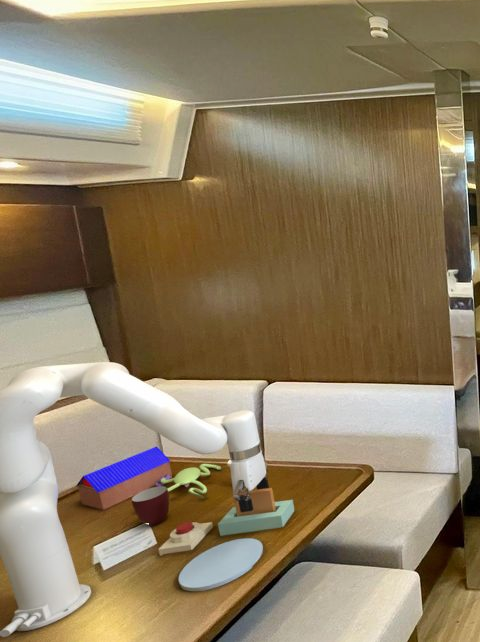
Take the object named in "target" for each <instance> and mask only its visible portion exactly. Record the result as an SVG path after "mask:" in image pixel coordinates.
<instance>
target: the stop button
mask: <svg viewBox="0 0 480 642" xmlns="http://www.w3.org/2000/svg"><path fill="white" fill-rule="evenodd" d="M192 523H193V522H192V521H186V522H183V523H180V524H179V525H177V526H176V527H175V529H176V532H177V535H181V534H185V533H188V532H189V531H191V530H192V529H193V524H192Z"/></svg>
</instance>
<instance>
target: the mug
mask: <svg viewBox="0 0 480 642" xmlns="http://www.w3.org/2000/svg"><path fill="white" fill-rule="evenodd" d="M167 488H168V487H167V486H165V485H164V486H159V487H158V486H153V487H151V488H149V489H147V490H144V491H142V492H140V493H138V494H136V495H134V496H132V497H131V504H132V508H133V510H134V512H135V513H136V515H137V517H138V519H139V520H140V521H141V522H142V523H143V524H145V523H149V527H153V526H156V525H159V524H162V523H163V522H164V521H165V520H166V518H167V516H168V513H169V510H170V493H169V492H168V489H167Z"/></svg>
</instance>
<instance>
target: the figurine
mask: <svg viewBox="0 0 480 642" xmlns="http://www.w3.org/2000/svg"><path fill="white" fill-rule="evenodd" d="M209 468H210V469H213V470H218V471H219V470H221V469H222V466H220V465H216V464H210V463H201V464H200V465H199V467H187V468H184V469H182V470H180V471H179V472H178V473H176V475H175V476H174V477H173V476H172V477H170V476H169V475H168V474H166V475H164V476H163V477H162V478H161V479H159V480H158V481H157V482H156V483H155V486H156V487H159V486H164V487H165V486H166V484H170V483H173V482H174V483H175V484H174V485H171V486H170V487H167V489H168V493H169V492H171V491H173V490H175V489H177V488H178V487H180V486H184V487H185V488H188V487H189V486H190V484H193V485H196V486H198V487H199V488H200V489H199V488H197V487H190V488H189V489H188V491H187V493H189V494H190V495H193V496H196V497H199V498H200V499H205V496H203V495H202V494H206V493H207V492H208V488H207V486H206V485H205V484H203V482H201V481H199V480H197V479H198V478H199V477H209V476H210V475H211V471H210V470H209ZM201 470H202V471H203V472H201ZM201 489H202V490H201Z"/></svg>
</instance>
